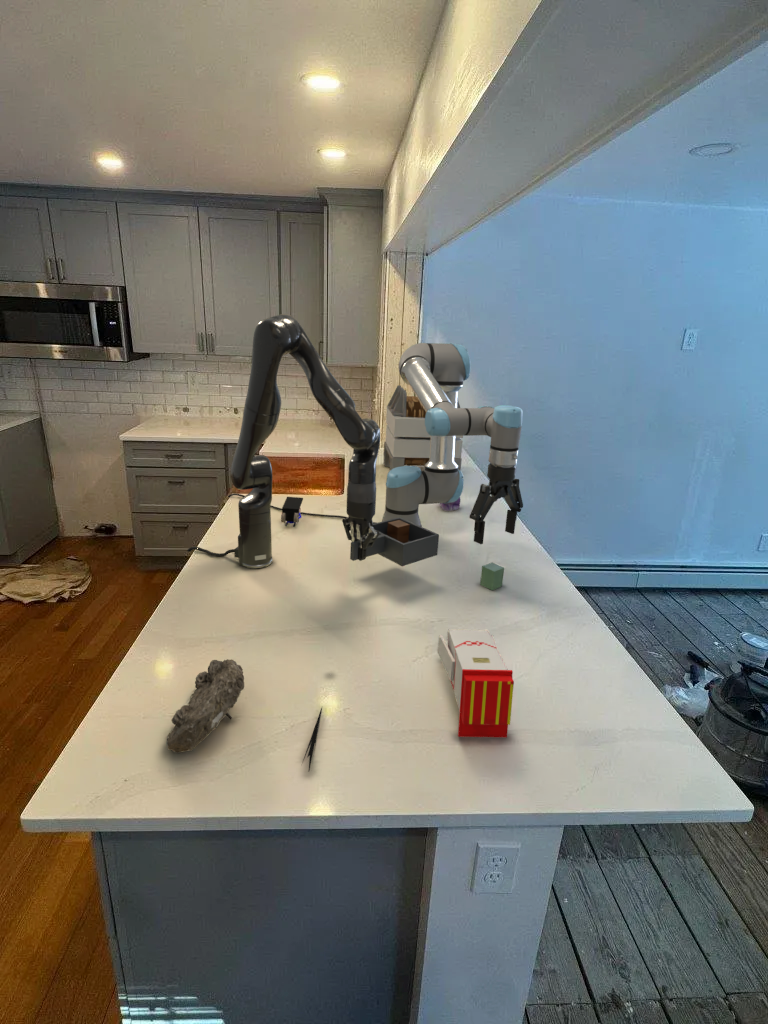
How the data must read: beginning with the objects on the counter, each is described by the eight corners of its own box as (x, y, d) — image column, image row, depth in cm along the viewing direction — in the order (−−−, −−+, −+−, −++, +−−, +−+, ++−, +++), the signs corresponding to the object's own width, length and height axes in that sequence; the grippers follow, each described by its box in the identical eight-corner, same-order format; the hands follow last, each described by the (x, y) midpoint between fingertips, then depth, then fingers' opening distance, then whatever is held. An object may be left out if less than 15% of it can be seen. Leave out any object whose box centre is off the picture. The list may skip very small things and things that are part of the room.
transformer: (382, 463, 289) (386, 382, 275) (445, 464, 293) (451, 384, 279) (390, 482, 257) (394, 392, 243) (460, 483, 261) (468, 394, 247)
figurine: (446, 513, 222) (450, 476, 217) (432, 505, 230) (435, 469, 225) (466, 510, 226) (470, 474, 221) (452, 502, 234) (455, 467, 229)
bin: (333, 554, 157) (333, 533, 155) (398, 536, 172) (399, 517, 170) (371, 576, 145) (372, 553, 143) (437, 555, 161) (439, 534, 159)
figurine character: (299, 532, 200) (304, 513, 214) (298, 513, 197) (303, 495, 210) (280, 532, 200) (286, 513, 213) (279, 512, 197) (285, 494, 210)
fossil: (192, 660, 117) (244, 628, 112) (224, 691, 120) (276, 661, 115) (142, 746, 98) (202, 712, 93) (182, 779, 101) (242, 748, 96)
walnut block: (386, 541, 166) (387, 522, 164) (397, 538, 169) (399, 519, 167) (396, 546, 163) (398, 527, 161) (408, 543, 165) (409, 524, 163)
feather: (331, 679, 122) (336, 673, 122) (307, 777, 96) (313, 769, 95) (324, 675, 122) (329, 669, 121) (298, 772, 95) (304, 764, 95)
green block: (480, 584, 165) (482, 566, 163) (489, 580, 168) (492, 562, 166) (492, 590, 162) (494, 571, 160) (502, 586, 165) (504, 567, 163)
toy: (488, 613, 130) (523, 677, 101) (484, 667, 133) (517, 744, 104) (435, 612, 130) (455, 676, 101) (432, 666, 133) (451, 743, 103)
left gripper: (334, 492, 149) (333, 553, 155) (366, 507, 139) (364, 571, 145) (356, 488, 154) (354, 546, 159) (389, 501, 144) (386, 563, 150)
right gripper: (482, 474, 142) (474, 551, 149) (541, 461, 158) (532, 532, 165) (460, 467, 148) (454, 542, 155) (519, 455, 163) (511, 524, 170)
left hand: (359, 558), depth 152 cm, fingers closed on bin, 1 cm apart
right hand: (494, 537), depth 160 cm, fingers open, 13 cm apart
